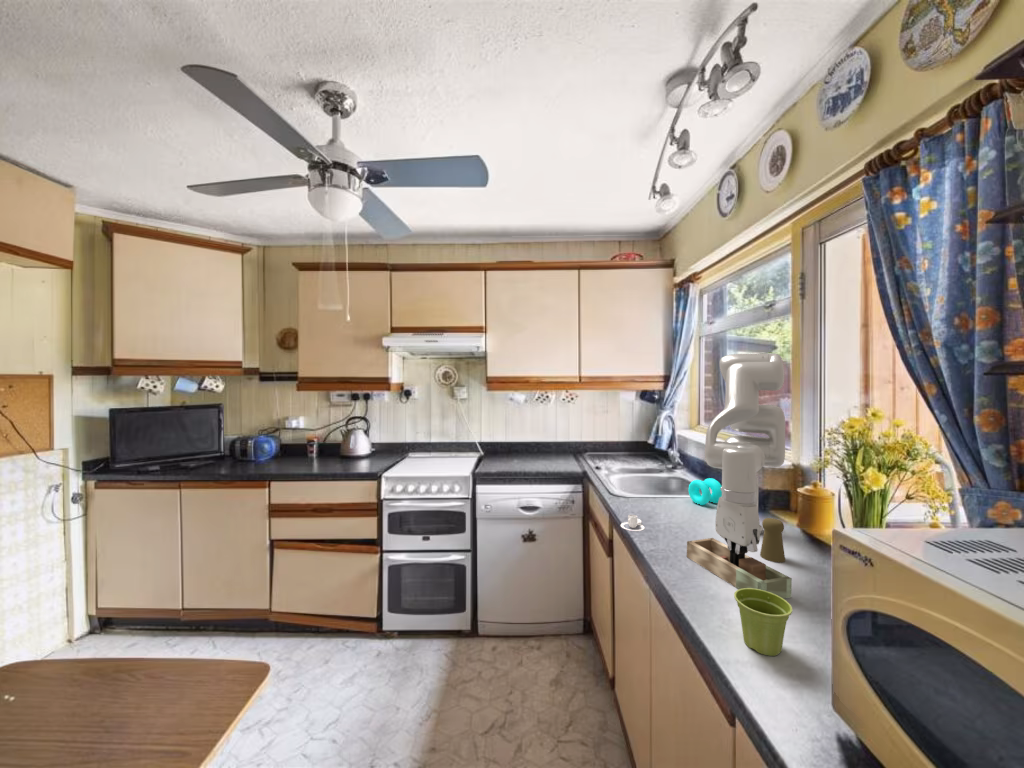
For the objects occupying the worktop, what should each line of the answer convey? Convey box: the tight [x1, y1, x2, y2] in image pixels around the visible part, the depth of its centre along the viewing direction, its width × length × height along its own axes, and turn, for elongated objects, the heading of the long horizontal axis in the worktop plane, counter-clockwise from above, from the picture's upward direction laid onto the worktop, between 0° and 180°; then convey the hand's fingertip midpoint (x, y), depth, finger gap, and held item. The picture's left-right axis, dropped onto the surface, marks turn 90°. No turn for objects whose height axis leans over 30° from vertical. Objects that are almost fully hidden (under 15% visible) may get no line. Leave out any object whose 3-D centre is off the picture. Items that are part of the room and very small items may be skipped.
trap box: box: [686, 537, 793, 600], centre depth 102 cm, size 24×9×4 cm, turn 16°
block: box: [739, 556, 767, 581], centre depth 97 cm, size 4×4×4 cm
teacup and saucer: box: [620, 514, 646, 532], centre depth 136 cm, size 9×8×4 cm
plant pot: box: [733, 588, 793, 657], centre depth 75 cm, size 9×9×9 cm
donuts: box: [687, 477, 722, 506], centre depth 161 cm, size 10×10×10 cm
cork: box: [759, 517, 786, 564], centre depth 112 cm, size 6×6×11 cm
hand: (737, 566), depth 101 cm, fingers closed
